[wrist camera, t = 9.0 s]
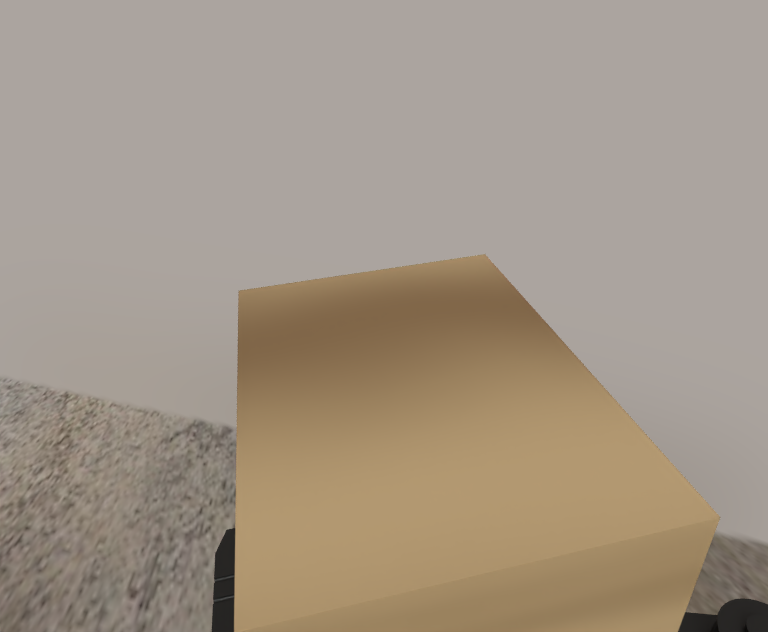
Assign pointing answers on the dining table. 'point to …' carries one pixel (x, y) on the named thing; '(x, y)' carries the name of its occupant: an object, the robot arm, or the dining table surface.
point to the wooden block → (444, 468)
